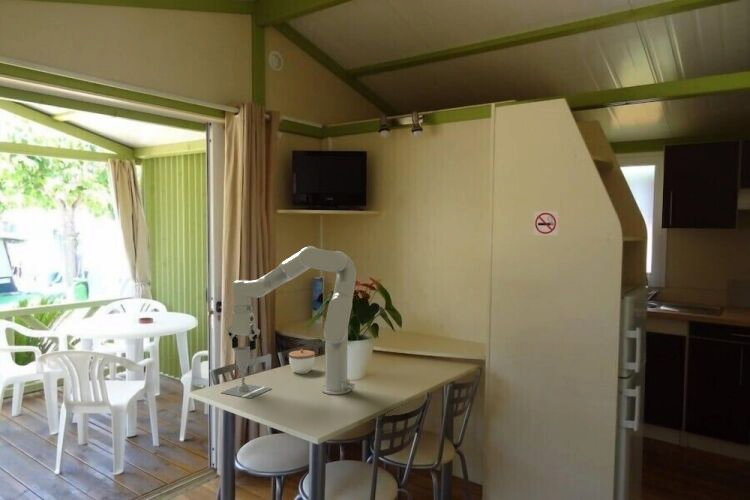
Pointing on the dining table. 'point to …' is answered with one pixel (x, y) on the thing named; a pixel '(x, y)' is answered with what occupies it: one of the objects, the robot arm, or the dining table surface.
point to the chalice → (242, 364)
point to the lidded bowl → (302, 360)
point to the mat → (250, 393)
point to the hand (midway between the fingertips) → (243, 348)
